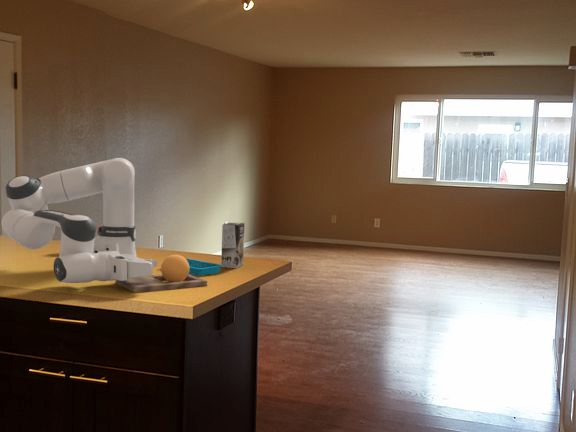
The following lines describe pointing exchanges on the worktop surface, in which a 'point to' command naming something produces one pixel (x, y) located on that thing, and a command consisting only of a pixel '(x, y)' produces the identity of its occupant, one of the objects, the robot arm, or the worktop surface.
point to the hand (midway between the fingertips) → (155, 262)
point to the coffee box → (232, 245)
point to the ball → (175, 268)
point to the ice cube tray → (202, 267)
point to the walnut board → (159, 283)
